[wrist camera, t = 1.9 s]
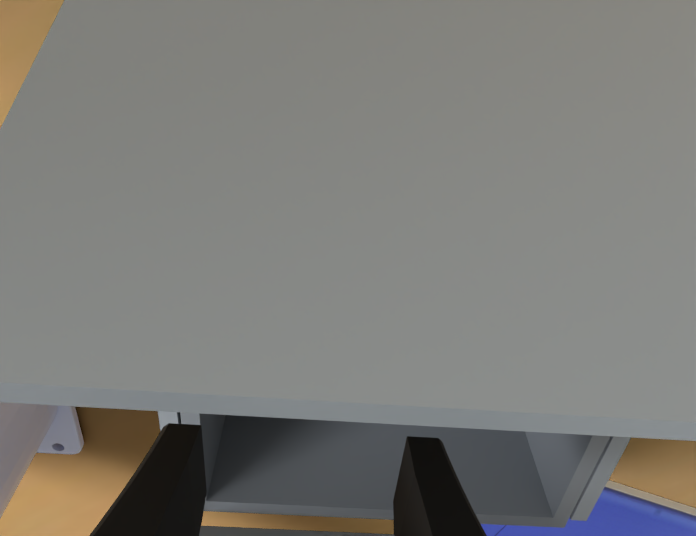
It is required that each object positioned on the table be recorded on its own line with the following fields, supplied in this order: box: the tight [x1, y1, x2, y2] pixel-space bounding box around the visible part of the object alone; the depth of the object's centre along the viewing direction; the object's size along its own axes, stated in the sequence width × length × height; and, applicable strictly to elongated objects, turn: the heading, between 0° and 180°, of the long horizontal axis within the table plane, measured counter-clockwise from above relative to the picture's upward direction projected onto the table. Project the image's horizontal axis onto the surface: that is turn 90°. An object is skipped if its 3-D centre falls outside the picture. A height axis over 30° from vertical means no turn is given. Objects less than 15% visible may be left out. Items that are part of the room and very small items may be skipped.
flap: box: [0, 0, 696, 441], centre depth 8 cm, size 14×9×1 cm
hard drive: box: [481, 480, 696, 536], centre depth 30 cm, size 2×8×12 cm
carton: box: [158, 411, 631, 528], centre depth 18 cm, size 15×18×5 cm
